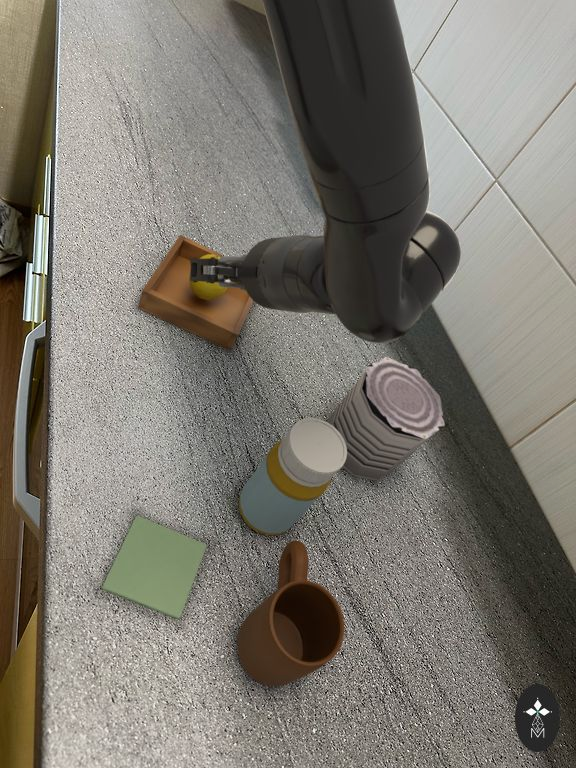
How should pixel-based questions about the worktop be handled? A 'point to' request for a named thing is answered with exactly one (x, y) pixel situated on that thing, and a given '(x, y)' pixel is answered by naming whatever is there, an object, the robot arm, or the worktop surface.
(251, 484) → the bottle
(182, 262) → the crate
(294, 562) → the mug
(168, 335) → the worktop surface
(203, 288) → the fruit
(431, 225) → the robot arm
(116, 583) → the mat
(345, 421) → the can
